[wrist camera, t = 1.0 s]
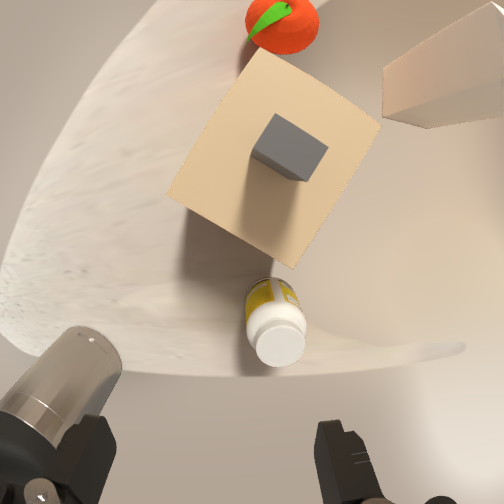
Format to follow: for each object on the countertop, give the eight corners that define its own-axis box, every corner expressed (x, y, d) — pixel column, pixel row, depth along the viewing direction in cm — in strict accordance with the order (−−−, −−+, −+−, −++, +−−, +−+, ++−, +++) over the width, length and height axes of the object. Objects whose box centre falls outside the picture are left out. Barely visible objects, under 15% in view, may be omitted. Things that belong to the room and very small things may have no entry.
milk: (426, 129, 30) (588, 113, 8) (380, 117, 29) (542, 73, 8) (426, 80, 28) (573, 32, 7) (381, 66, 28) (520, -16, 7)
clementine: (269, 82, 28) (276, 58, 22) (223, 39, 27) (218, 8, 20) (324, 41, 27) (343, 12, 20) (279, 0, 26) (287, -34, 19)
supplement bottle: (241, 320, 34) (241, 371, 25) (248, 273, 33) (251, 313, 24) (290, 325, 35) (306, 376, 25) (299, 279, 33) (320, 319, 24)
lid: (291, 267, 22) (310, 303, 16) (167, 194, 21) (136, 203, 15) (378, 126, 20) (426, 113, 14) (259, 50, 19) (265, 5, 12)
